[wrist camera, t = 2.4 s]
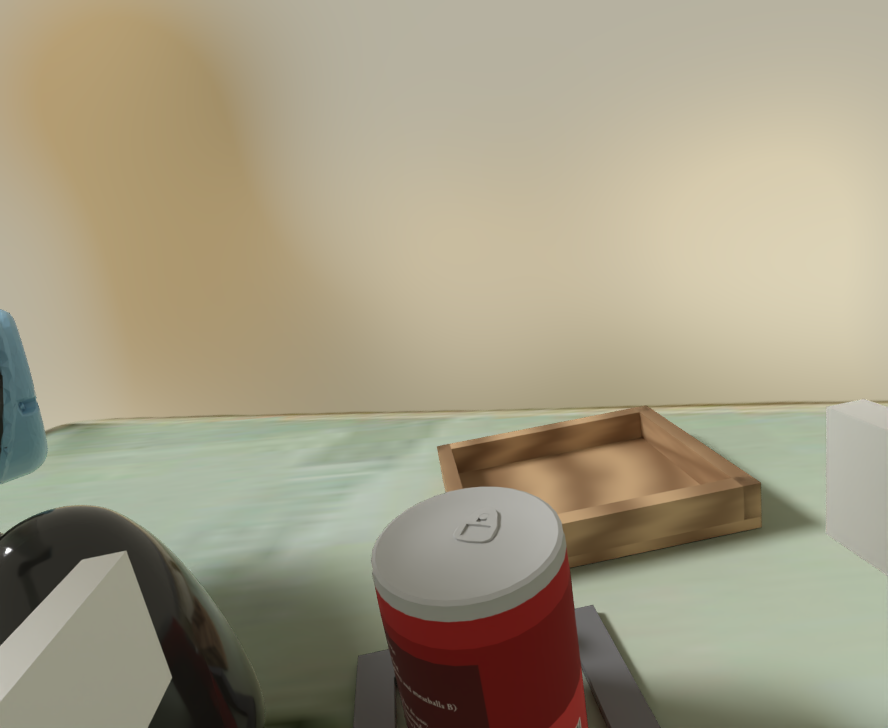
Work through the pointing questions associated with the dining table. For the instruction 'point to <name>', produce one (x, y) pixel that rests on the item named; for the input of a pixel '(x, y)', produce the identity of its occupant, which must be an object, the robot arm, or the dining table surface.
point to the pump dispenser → (168, 602)
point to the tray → (614, 481)
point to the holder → (599, 662)
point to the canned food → (480, 612)
